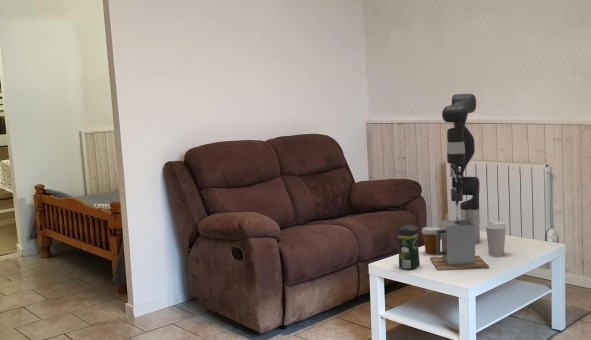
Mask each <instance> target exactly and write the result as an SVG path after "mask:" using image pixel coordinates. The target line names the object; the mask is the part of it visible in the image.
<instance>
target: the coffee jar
mask: <svg viewBox="0 0 591 340" xmlns="http://www.w3.org/2000/svg"><path fill="white" fill-rule="evenodd" d="M397 239H398V267H399V269H402V270H414V269H416V268H418V267H419V266H420V262H421V261H420V252H419V227H418V226H417V225H416V224H415V225H414V224H406V225H404V226H402V227H400V228H397Z"/></svg>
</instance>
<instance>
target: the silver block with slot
mask: <svg viewBox="0 0 591 340" xmlns="http://www.w3.org/2000/svg"><path fill="white" fill-rule="evenodd" d="M440 226H441V227H440V228H441V230H436V233H437V254H436V256H441V257H442V259H443V260H444V262H445V263H446V265H447V266H456V265H475V256H476V244H475V224H473V223H472V222H471V221H470V220H469V219H466V220H461V219H459V223H456V219H448V220H447V219H446V220H440ZM440 233H441V241H440Z"/></svg>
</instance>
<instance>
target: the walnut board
mask: <svg viewBox="0 0 591 340" xmlns="http://www.w3.org/2000/svg"><path fill="white" fill-rule="evenodd" d="M429 260H430V262H431V263H432V266H434V268H435V270H436V271H453V270H454V271H458V270H484V269H490V266H489V264H488V263H487V262H486V261H485V260H484V259H482V257H481V256H480V255H475V265H456V266H447V265H446V263H445V262H444V260H443V259H442V256H433V257H429Z"/></svg>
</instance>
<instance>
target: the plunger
mask: <svg viewBox="0 0 591 340" xmlns="http://www.w3.org/2000/svg"><path fill="white" fill-rule="evenodd" d="M463 200H464V195H463V189H462V190H461V191H457V190H456V188H452V187H451V188H450V201H451V202H455V220H456V223H459V220H460V202H464V201H463Z"/></svg>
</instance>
